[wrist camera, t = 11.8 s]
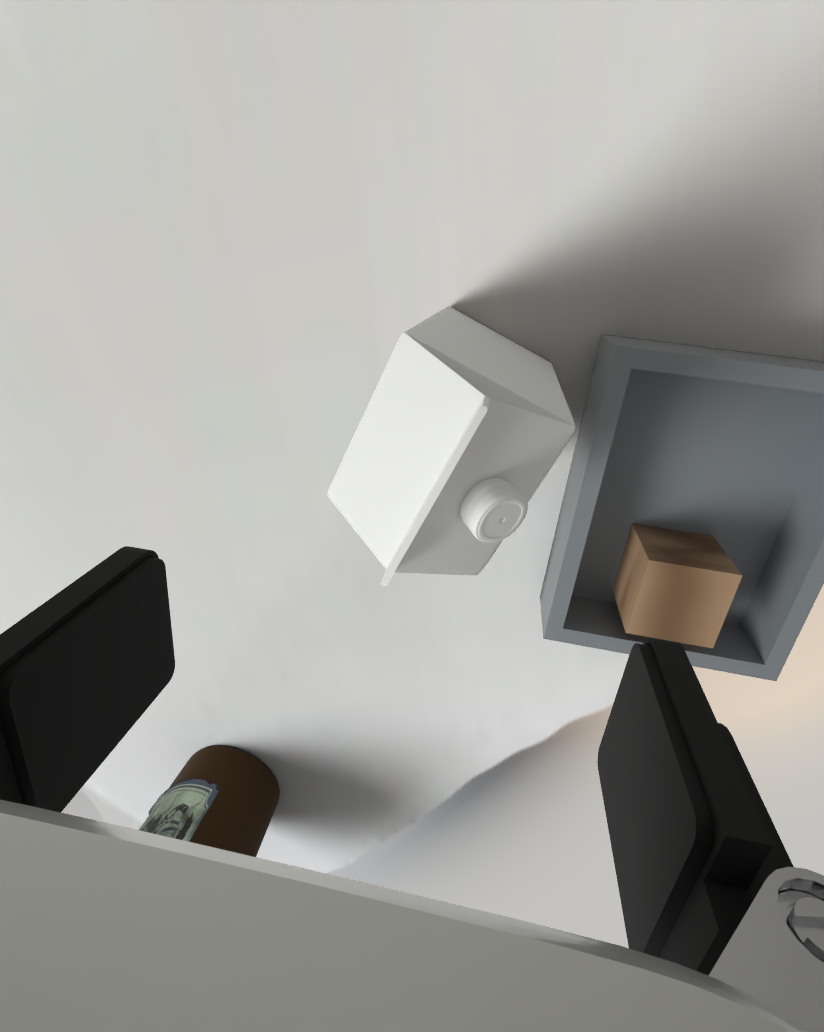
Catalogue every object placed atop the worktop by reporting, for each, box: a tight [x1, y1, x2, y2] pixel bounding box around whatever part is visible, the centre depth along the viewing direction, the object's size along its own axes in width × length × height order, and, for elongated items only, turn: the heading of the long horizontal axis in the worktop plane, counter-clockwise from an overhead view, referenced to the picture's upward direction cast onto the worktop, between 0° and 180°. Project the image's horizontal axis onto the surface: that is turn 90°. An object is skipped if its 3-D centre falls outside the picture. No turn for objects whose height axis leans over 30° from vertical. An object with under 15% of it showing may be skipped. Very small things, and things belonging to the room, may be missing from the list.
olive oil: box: [139, 746, 279, 857], centre depth 42 cm, size 11×11×25 cm
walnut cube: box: [612, 523, 743, 648], centre depth 34 cm, size 5×5×5 cm
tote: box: [540, 335, 824, 681], centre depth 33 cm, size 14×18×5 cm
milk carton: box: [328, 306, 576, 586], centre depth 26 cm, size 7×7×19 cm
